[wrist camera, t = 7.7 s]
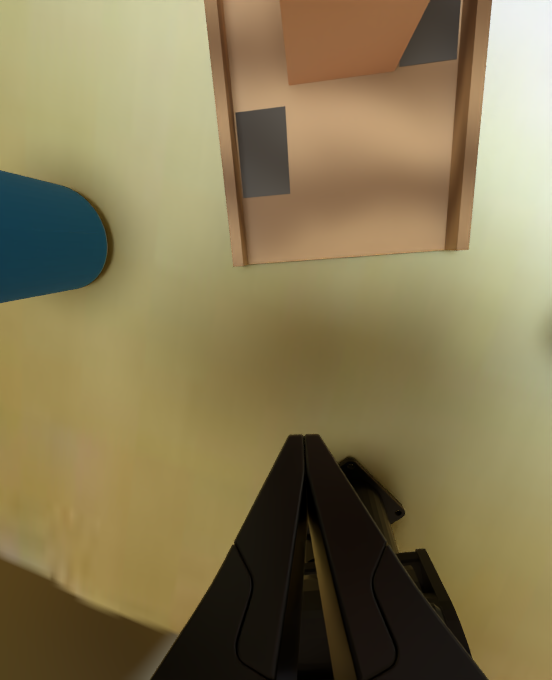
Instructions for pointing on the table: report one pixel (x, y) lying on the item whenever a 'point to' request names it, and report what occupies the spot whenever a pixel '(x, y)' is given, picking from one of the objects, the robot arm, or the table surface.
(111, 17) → the table surface
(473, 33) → the box
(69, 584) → the table surface
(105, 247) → the beverage can
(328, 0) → the brick
